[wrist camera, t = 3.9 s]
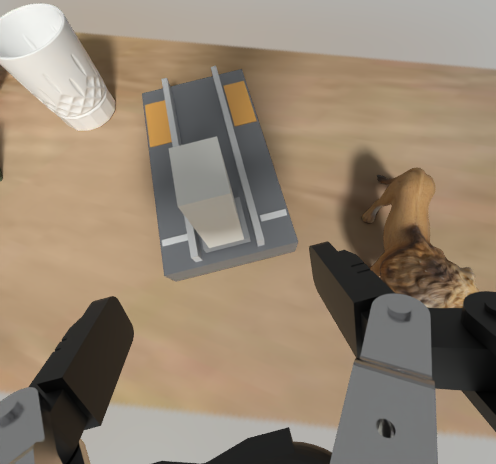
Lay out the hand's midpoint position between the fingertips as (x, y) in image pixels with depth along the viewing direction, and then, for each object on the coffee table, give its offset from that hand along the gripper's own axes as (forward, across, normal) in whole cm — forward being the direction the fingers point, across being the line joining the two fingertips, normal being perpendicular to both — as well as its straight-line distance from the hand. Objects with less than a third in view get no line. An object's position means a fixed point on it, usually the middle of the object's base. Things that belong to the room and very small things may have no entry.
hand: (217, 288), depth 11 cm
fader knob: (+13, 0, +3) cm, 13 cm away
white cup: (+31, +14, -10) cm, 36 cm away
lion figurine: (+12, -15, +9) cm, 21 cm away
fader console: (+21, 0, -1) cm, 21 cm away
